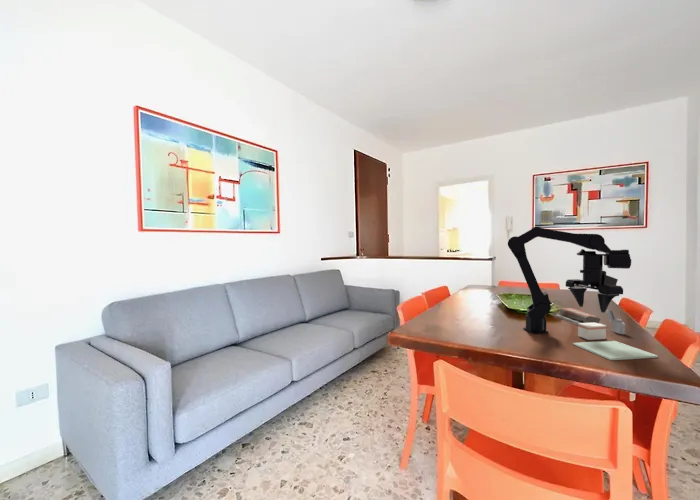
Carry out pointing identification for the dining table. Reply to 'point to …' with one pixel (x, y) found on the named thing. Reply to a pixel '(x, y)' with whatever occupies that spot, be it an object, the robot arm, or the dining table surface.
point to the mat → (614, 350)
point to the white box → (591, 331)
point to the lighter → (616, 323)
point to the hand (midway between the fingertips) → (591, 309)
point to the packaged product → (577, 316)
